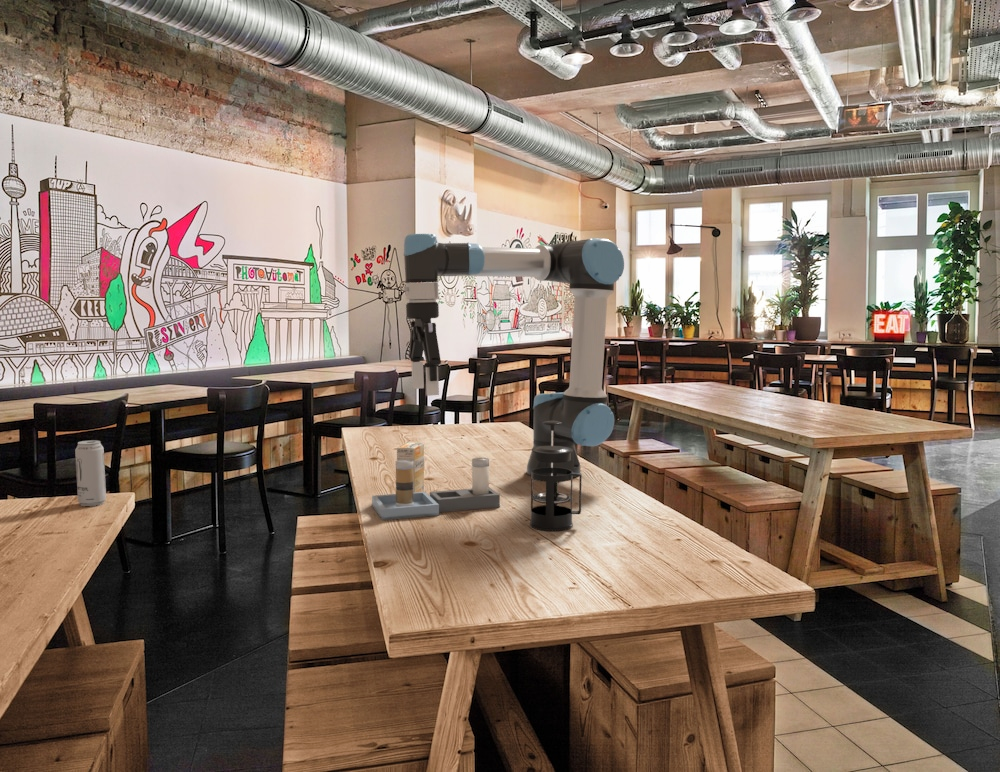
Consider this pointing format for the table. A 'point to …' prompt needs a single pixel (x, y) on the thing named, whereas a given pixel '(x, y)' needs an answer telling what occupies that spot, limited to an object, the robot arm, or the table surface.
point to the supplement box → (414, 462)
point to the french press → (552, 488)
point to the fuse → (480, 476)
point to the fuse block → (465, 500)
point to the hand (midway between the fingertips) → (425, 391)
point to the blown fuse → (404, 483)
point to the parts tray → (421, 508)
